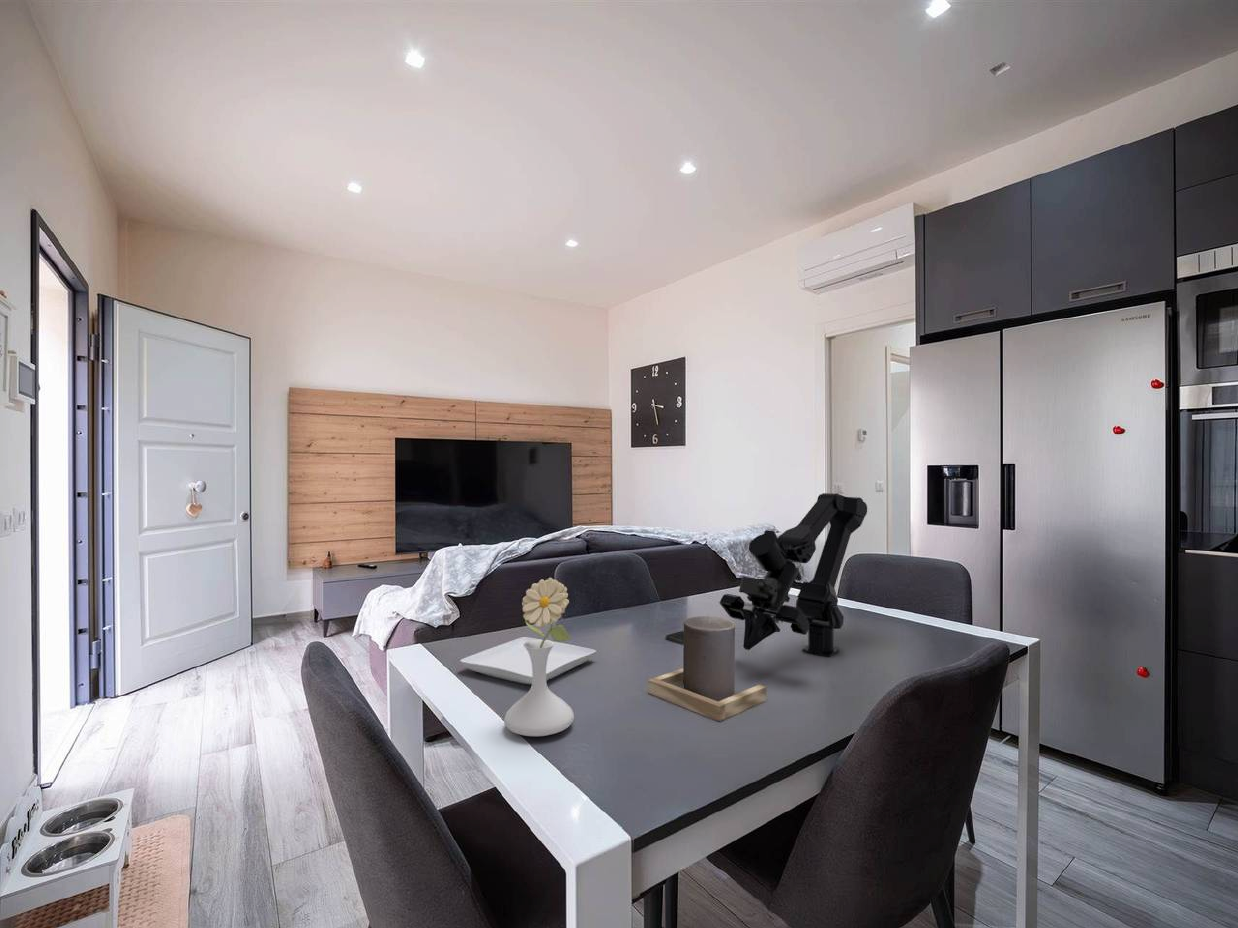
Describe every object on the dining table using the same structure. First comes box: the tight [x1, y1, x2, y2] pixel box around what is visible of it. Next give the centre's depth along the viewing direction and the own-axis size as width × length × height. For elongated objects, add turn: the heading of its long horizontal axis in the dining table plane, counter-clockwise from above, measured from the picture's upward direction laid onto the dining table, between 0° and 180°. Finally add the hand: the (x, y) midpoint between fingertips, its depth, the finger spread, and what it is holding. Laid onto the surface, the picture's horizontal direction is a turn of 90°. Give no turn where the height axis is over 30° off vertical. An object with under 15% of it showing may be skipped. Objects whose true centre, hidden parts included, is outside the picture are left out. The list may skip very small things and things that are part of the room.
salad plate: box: [459, 636, 597, 686], centre depth 127 cm, size 21×21×3 cm
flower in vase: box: [503, 577, 575, 737], centre depth 98 cm, size 13×11×25 cm
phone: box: [665, 630, 684, 646], centre depth 145 cm, size 8×1×15 cm
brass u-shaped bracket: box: [647, 667, 767, 722], centre depth 111 cm, size 14×17×2 cm
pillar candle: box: [682, 615, 736, 702], centre depth 112 cm, size 10×10×15 cm
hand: (745, 648), depth 119 cm, fingers closed
